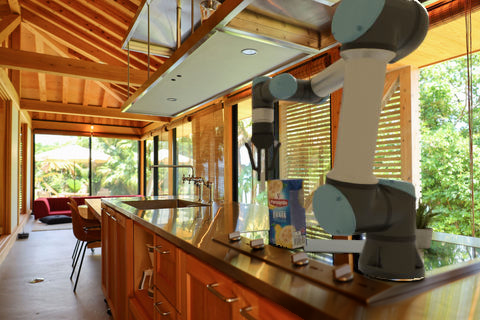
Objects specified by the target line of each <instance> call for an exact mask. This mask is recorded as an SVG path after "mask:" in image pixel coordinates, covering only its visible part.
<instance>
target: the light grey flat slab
mask: <svg viewBox="0 0 480 320" xmlns="http://www.w3.org/2000/svg"><path fill="white" fill-rule="evenodd" d="M364 242H365V239H364V240H363V239H362V240H361V239H359V240H356V239H353V240H352V239H350V240H349V239H329V238H326V239H322V238H316V239H315V238H307V245H306V246H302V247H303V251H304V253H311V252H323V253H322V254H343V253H359V254H358V255H360V254H361V251H362V248H363V245H364Z"/></svg>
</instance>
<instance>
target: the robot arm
mask: <svg viewBox="0 0 480 320" xmlns="http://www.w3.org/2000/svg"><path fill="white" fill-rule="evenodd" d="M429 28H430V17H429V13H428V11H427V9H426V8H425V6H424V5H423V4H422V3H421V2H419V1H418V0H341V1H340V2H339V4H338V6H337V8H336V9H335V11H334V13H333V17H332V21H331V33H332V35H333V38H334V40H336V41H337V42H338V43H339V44H340V48H339V49H340V50H339V56H340V57H341V58H339V59H337V60H336V61H335V62H333V63H332V64H330V65H329V66H327V67H326V68H325V69H323V70H321V71H320V72H318V73H317V74H316V75H314V76H312V77H311V78H310V79H302V78H295V77H294V76H293V75H292V74H290V73H287V72H284V73H280V74H277V75H275V76H273V77H271V76H268V75H260V76H256V77H254V78H253V79H252V80H251V90H250V91H251V122H252V123H251V137H250V140H248V141H247V142H244V144H243V145H244V147H245V148H246V150H247V154H248V157H249V161H250V162H249V163H250V165H251V169H252V171H256V172H257V173H256V175H257V177H256V180H257V182H260V192H266V182H267V181H268V180H270V179H269V178H270V177H269V175H270V174H269V173H270V172H271V171H274V170H275V167H276V166H275V165H276V161H277V157H278V153H279V149H280V147H282V142H281V141H278V140H276V136H275V135H274V134H275V133H274V131H275V129H274V127H275V124H274V123H273V122H274V121H275V119H274V117H275V115H274V113H275V111H274V110H275V109H274V107H275V106H274V105H275V104H274V103H277V102H289V103H300V104H309V105H314V106H315V105H316V106H317V105H323V104H325V103H326V102H327V100H329V98H330V95H331V94H332V93H334V92H336V91H338V90H341V89H342V94H341V101H340V109H339V119H338V127H337V137H336V145H335V152H334V161H333V162H334V163H333V167H332V168H331V169H330V170H329V171H328V172H327V173H326V174H325V181H324V183H323V184H322V185H320V186H318V187H317V188H316V190H314V192H313V194H312V199H311V200H312V201H311V203H312V204H311V207H312V211H313V216H314V218H315V220H316V222H317V224H318V225H319V227H320V228H321V229H322V230H323V232H325V233H327V234H329V235H331V236H333V237H334V236H335V237H336V236H337V237H338V236H341V237H342V236H344V237H350V236H353V235H360V234H361V235H363V234H364V236H365V239H364V240H365V242H364V245H363V248H362V251H361V254H359V258H358V263H357V264H358V271H359V270H360V271H361V272H362V273H361V272H360V271H359V272H360V273H361V274H363V273H364V274H363V275H365V274H367V275H370V276H374V277H380V278H386V279H414V278H421V277H424V276H425V277H426V267H425V264H424V261H423V259H422V256H421V254H420V250H419V248H418V247H417V244H416V210H417V205H416V204H417V195H416V186H415V185H414V184H413V183H412V182H410V181H406V180H400V179H390V178H380V177H379V178H378V177H376V176H375V174H374V165H375V156H376V149H377V142H378V134H379V128H380V127H379V126H380V121H381V120H380V119H381V112H382V104H383V97H384V90H385V81H386V74H387V67H388V65H393V64H395V63H397V62H399V61H401V60H403V59H404V58H406V57H408V56H409V55H411V54H412V53H414V52H415V51H417V49H418V48H419V47H420V46H421V45H422V44H423V42H424V41H425V40H426V38H427V35H428V33H429ZM252 145H253V147H255V149H256V154H257V155H256V162H255V158H254V154H253V150H252ZM272 146H274V151H273V154H272V158H271V162H270V163H269V161H270V160H269V158H270V157H269V154H270V153H269V150H270V148H271V147H272ZM262 150H264V171H262ZM269 165H270V166H269ZM367 275H366V276H367ZM370 276H369V277H370ZM374 277H373V278H374Z"/></svg>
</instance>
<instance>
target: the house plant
mask: <svg viewBox="0 0 480 320" xmlns="http://www.w3.org/2000/svg"><path fill="white" fill-rule="evenodd" d="M432 201H433V199H431V200H429V201H428V202H427V203H426V204H425V202H424V201H422V203H421V197H419V198H418V201H417V206H418V207H417V208H416V244H417V247H418V249H430V248H431V243H432V239H433V238H432V237H433V232H434V228H433V227H429V225H430V224H431V223H433V222H435V221H438V222H442V223H443V222H444V221H443V219H442V218H444V217H440V216H439V215H442V214H443V215H444V214H445V212H440V211H439V212H433V213H431V212H432V211H434V210H437V209H440V208H439V207H440V203H439V204H435V205H434V206H432V208H430V209H429V210H428V211H427V212H425V211H426V210H427V207H428V206H429V204H430V203H431V202H432ZM437 207H438V208H437ZM424 213H425V214H424ZM435 216H439V217H435Z"/></svg>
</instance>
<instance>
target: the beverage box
mask: <svg viewBox="0 0 480 320" xmlns="http://www.w3.org/2000/svg"><path fill="white" fill-rule="evenodd" d="M304 181H305V179H304V178H281V179H279V178H277V179H269V180H268V181H266V183H267V184H266V185H267V200H268V201H267V203H268V225H269V227H268V228H269V243H273V244H272V245H274V244H276V245H275V246H278V245H280V246H279V247H282V246H283V248H286V247H287V249H291V250H293V249H297V248H301V247H303V246H306V245H307V239H308V237H307V223H306V222H307V220H306V218H307V217H306V199H305V183H304Z"/></svg>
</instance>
